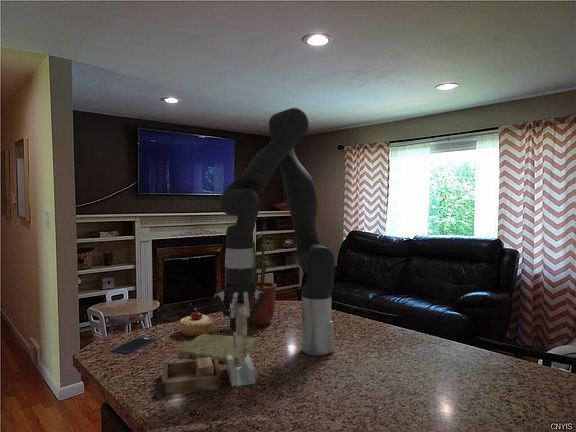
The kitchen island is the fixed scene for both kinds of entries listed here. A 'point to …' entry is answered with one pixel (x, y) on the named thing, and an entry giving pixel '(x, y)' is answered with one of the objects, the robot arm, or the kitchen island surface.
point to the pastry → (196, 325)
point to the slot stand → (241, 371)
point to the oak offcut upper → (204, 367)
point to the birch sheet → (240, 331)
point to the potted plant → (268, 288)
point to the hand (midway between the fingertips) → (239, 330)
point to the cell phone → (133, 345)
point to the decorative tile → (214, 347)
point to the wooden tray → (188, 378)
